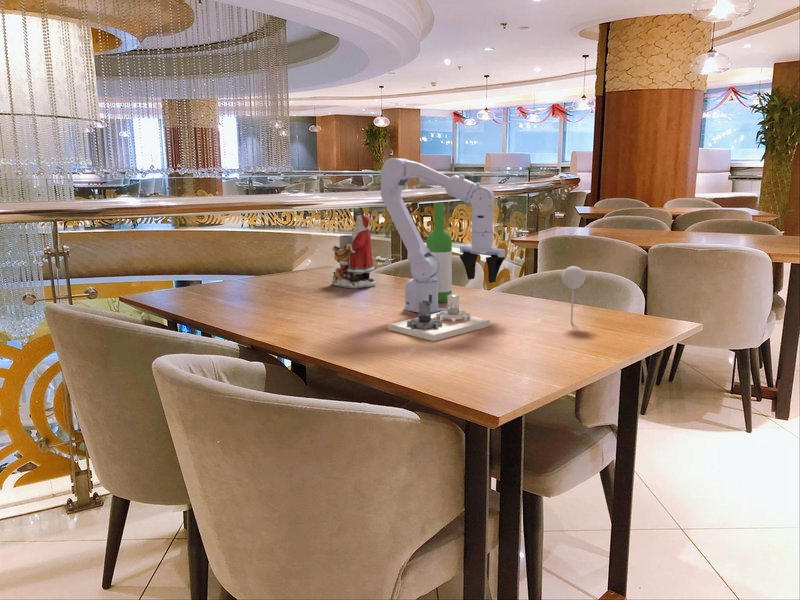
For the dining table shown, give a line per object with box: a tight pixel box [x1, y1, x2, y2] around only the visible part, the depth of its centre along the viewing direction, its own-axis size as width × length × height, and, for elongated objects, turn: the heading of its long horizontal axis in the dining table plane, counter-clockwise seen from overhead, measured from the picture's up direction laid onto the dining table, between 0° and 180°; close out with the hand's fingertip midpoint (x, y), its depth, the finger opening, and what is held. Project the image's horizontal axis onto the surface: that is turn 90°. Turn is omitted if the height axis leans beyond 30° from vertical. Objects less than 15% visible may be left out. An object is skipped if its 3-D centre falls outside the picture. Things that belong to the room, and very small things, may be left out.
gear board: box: [388, 311, 491, 342], centre depth 166 cm, size 16×21×2 cm
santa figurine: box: [331, 214, 377, 290], centre depth 226 cm, size 17×14×25 cm
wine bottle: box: [425, 202, 453, 304], centre depth 197 cm, size 8×8×30 cm
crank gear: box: [407, 294, 442, 330], centre depth 162 cm, size 9×9×8 cm
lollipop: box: [560, 265, 587, 324], centre depth 169 cm, size 6×6×15 cm
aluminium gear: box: [435, 294, 471, 322], centre depth 169 cm, size 9×9×6 cm
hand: (481, 280), depth 180 cm, fingers open, 7 cm apart
